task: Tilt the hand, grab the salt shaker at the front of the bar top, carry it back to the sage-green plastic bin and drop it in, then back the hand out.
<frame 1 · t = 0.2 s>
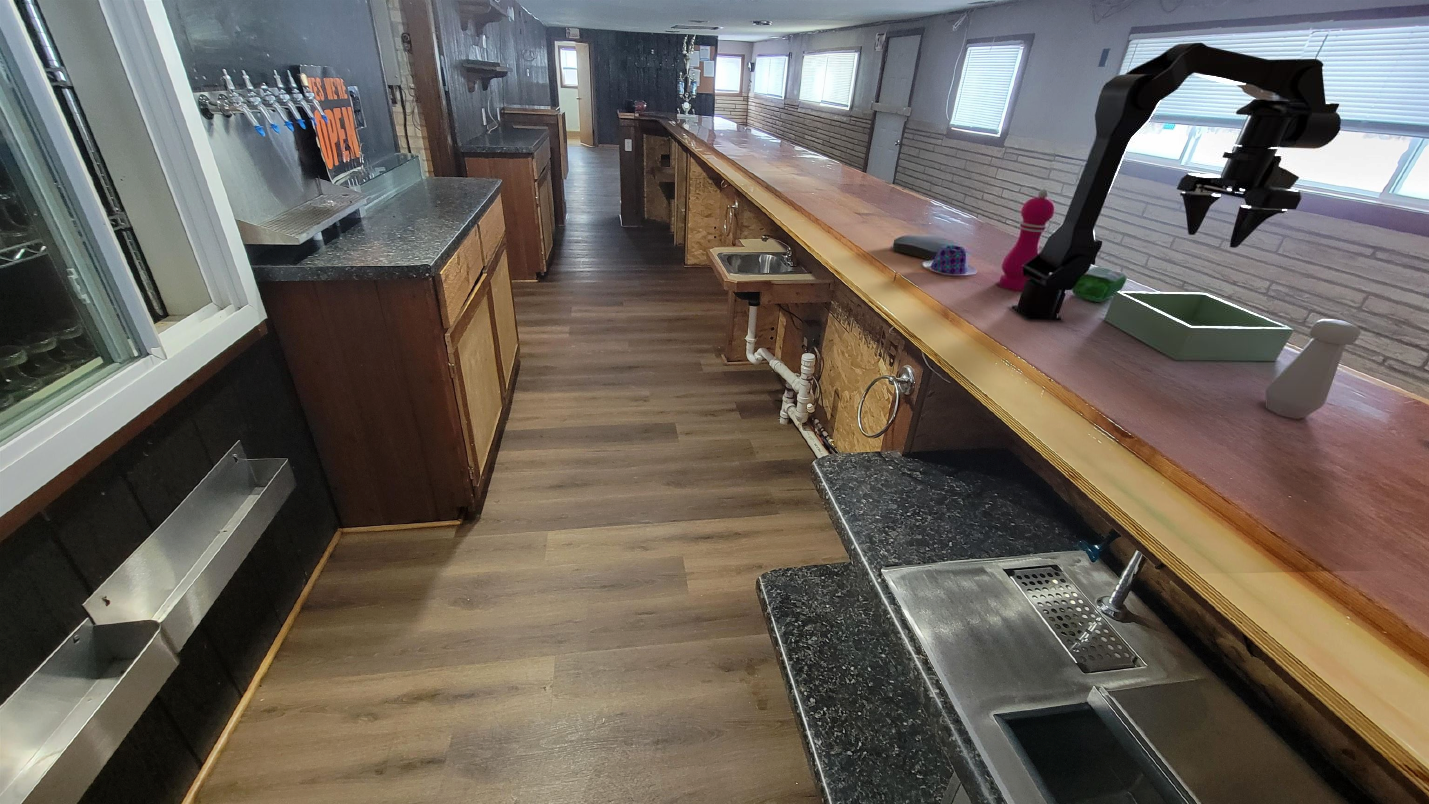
hand: (1211, 240, 102), 15 cm above the counter, tool pointing down, fingers open, 9 cm apart
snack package: (1094, 296, 119), on the counter
salt shaker: (1284, 412, 77), on the counter
bin: (1183, 339, 99), on the counter
patterned bucket hat: (948, 271, 131), on the counter
media streaming box: (926, 253, 145), on the counter
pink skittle: (1013, 287, 122), on the counter
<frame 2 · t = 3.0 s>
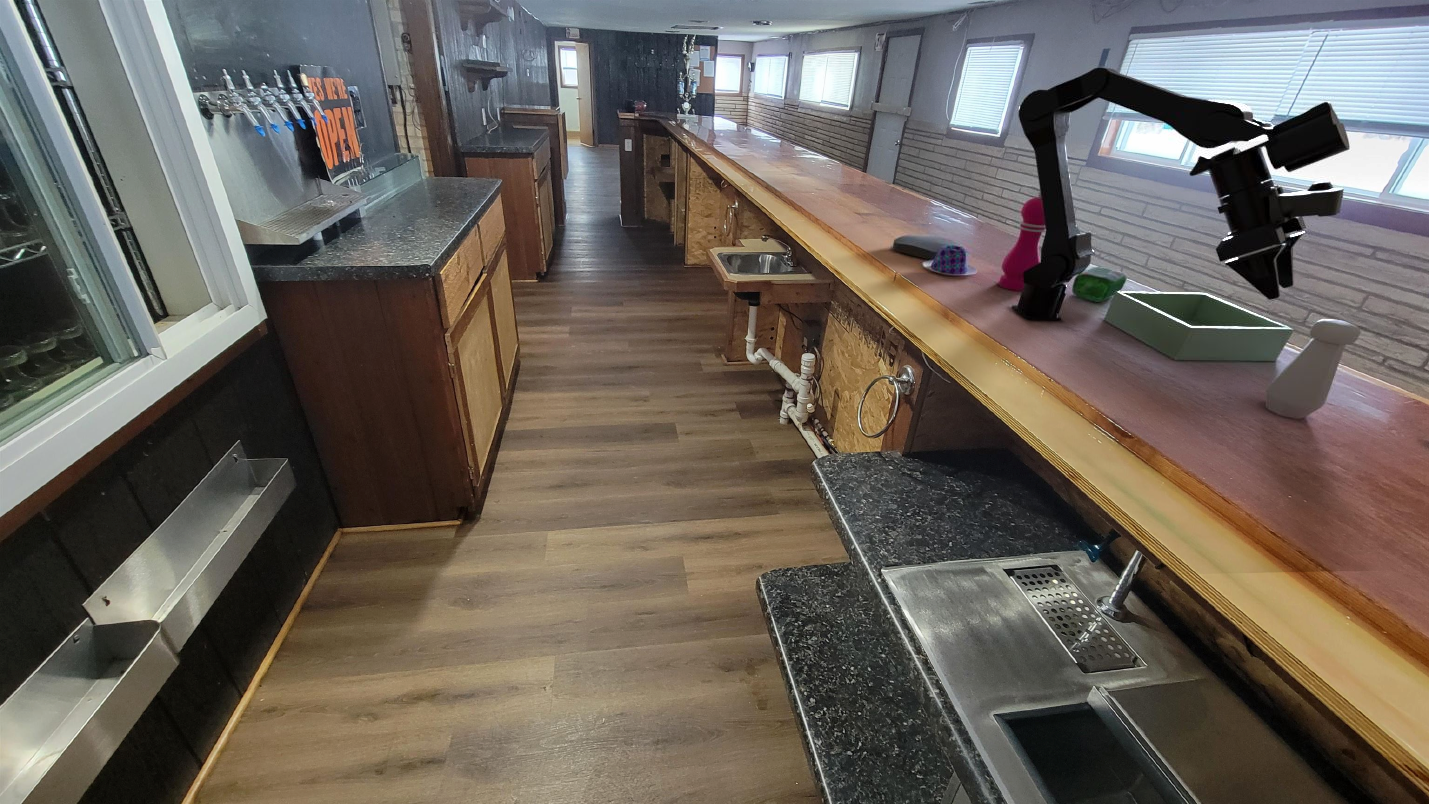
hand: (1281, 292, 80), 13 cm above the counter, tool tilted 35°, fingers open, 9 cm apart
nothing on the counter moved.
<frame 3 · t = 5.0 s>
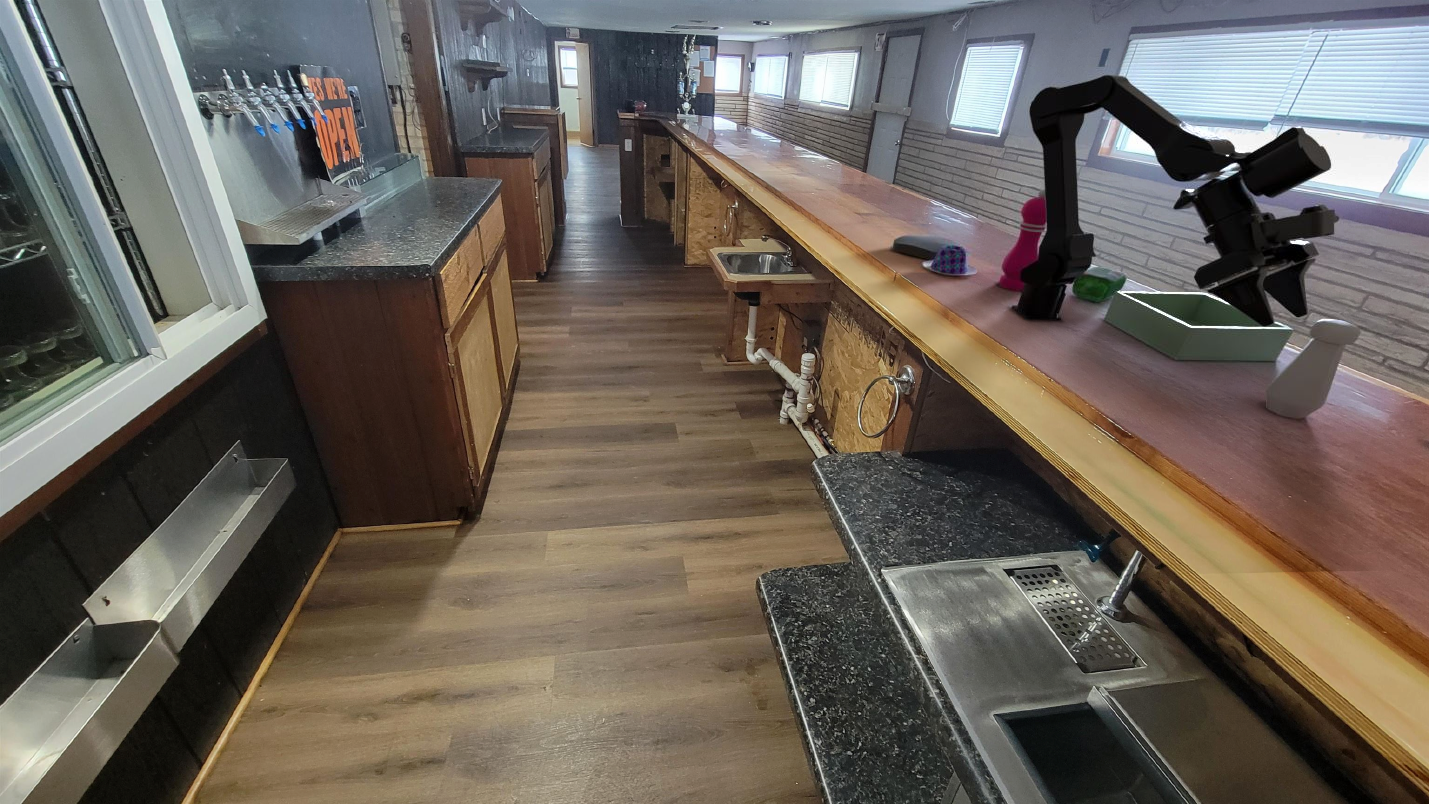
hand: (1286, 320, 75), 11 cm above the counter, tool tilted 45°, fingers open, 9 cm apart
nothing on the counter moved.
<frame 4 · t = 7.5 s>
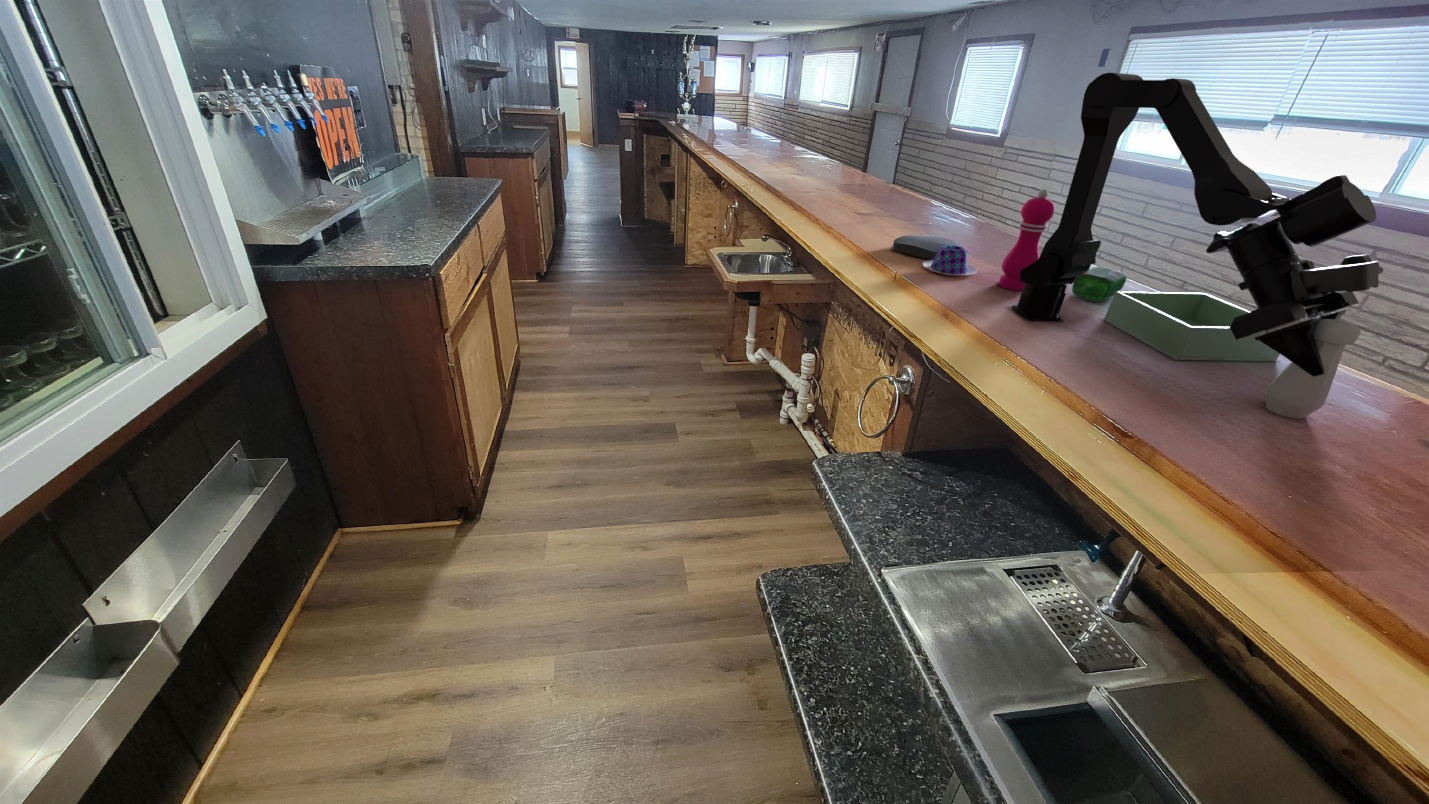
hand: (1325, 372, 73), 7 cm above the counter, tool tilted 45°, fingers closed on salt shaker, 3 cm apart
salt shaker: (1284, 412, 77), on the counter, touching gripper
everything else where it was.
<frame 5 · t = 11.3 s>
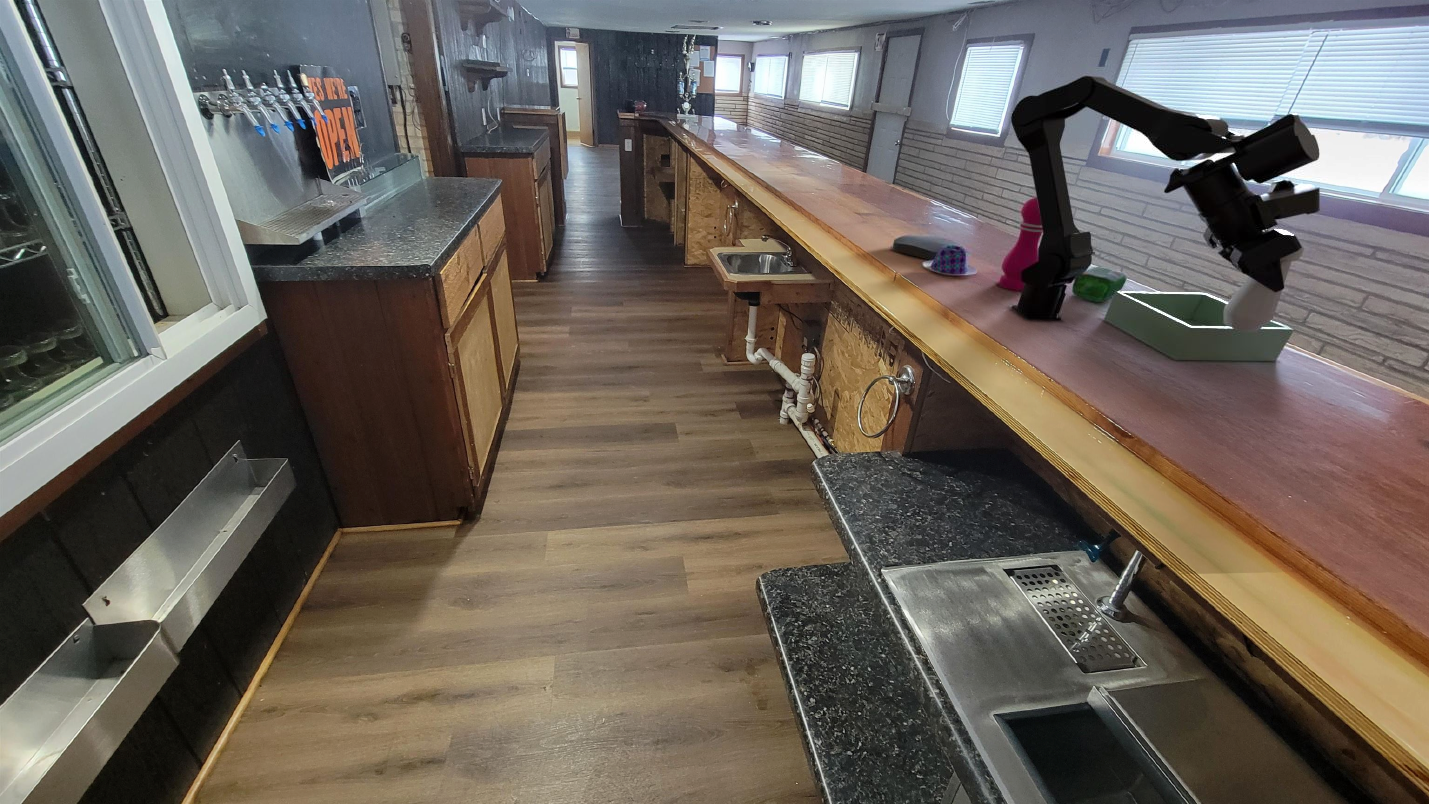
hand: (1275, 287, 83), 13 cm above the counter, tool tilted 45°, fingers closed on salt shaker, 3 cm apart
salt shaker: (1239, 327, 87), point 6 cm above the counter, touching gripper
everything else where it was.
when the fingers open (7 cm above the counter, at t = 15.3 s): salt shaker stays where it is, resting on bin.
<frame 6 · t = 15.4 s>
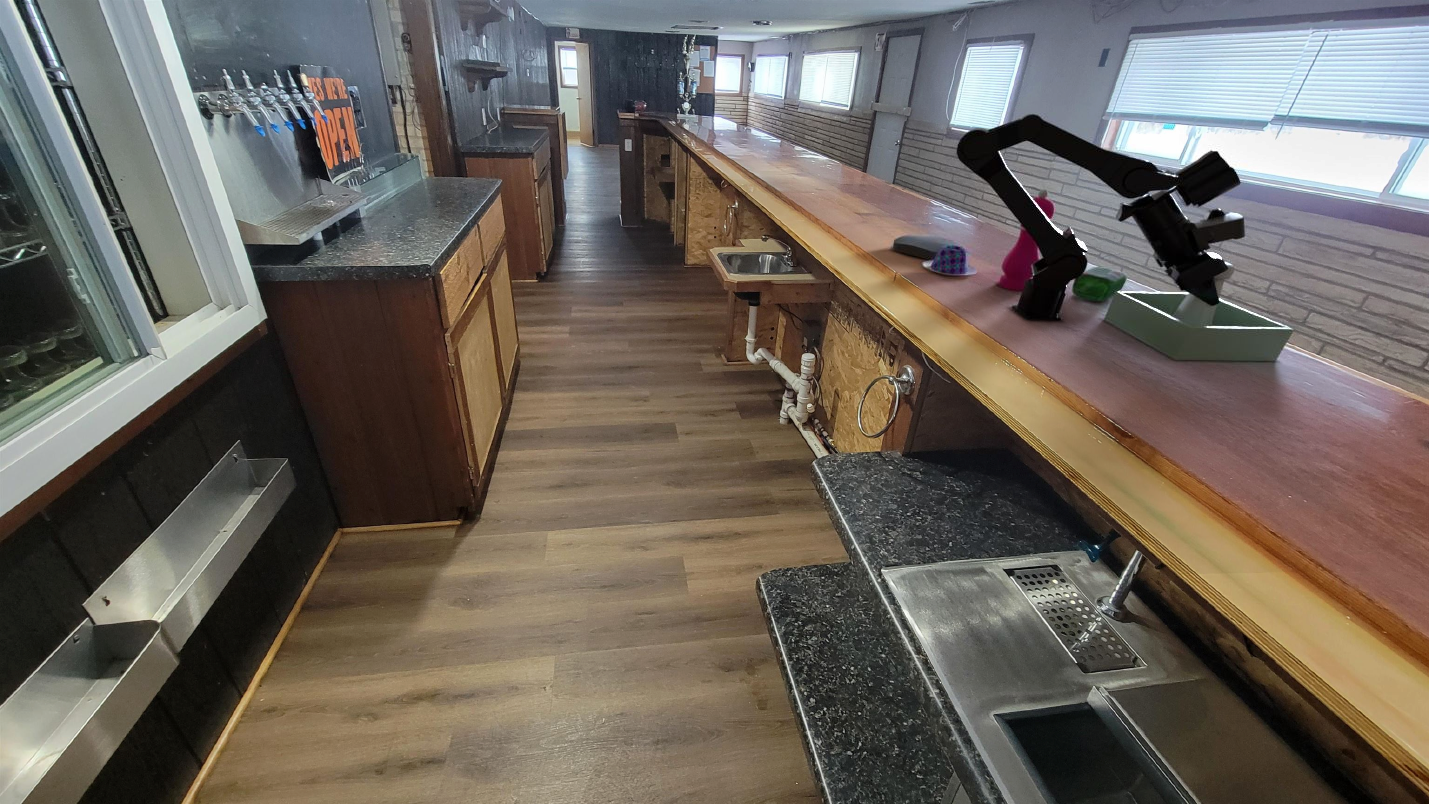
hand: (1212, 301, 95), 7 cm above the counter, tool tilted 45°, fingers open, 3 cm apart
salt shaker: (1183, 336, 99), resting on bin
everything else where it was.
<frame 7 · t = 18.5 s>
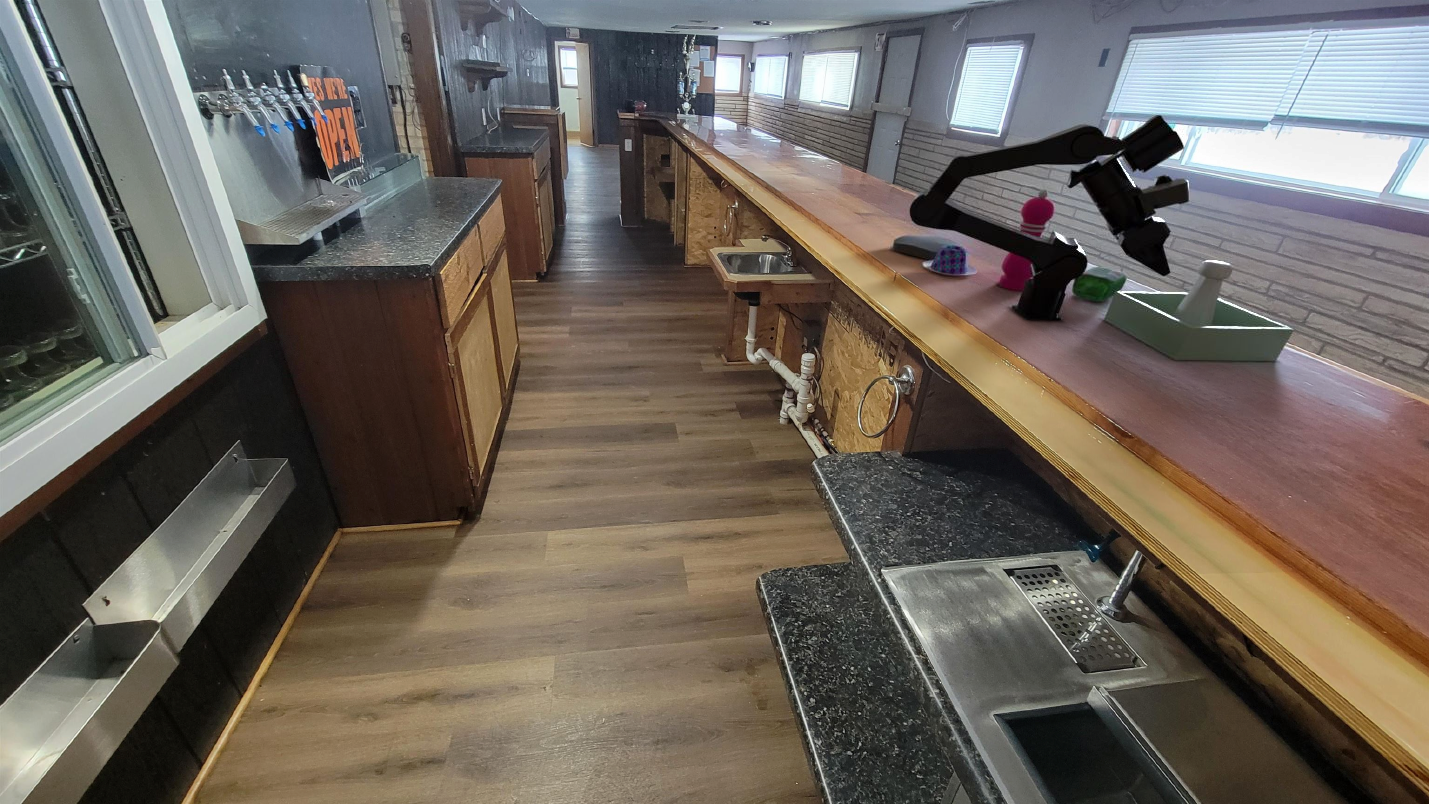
hand: (1161, 267, 96), 12 cm above the counter, tool tilted 45°, fingers open, 9 cm apart
nothing on the counter moved.
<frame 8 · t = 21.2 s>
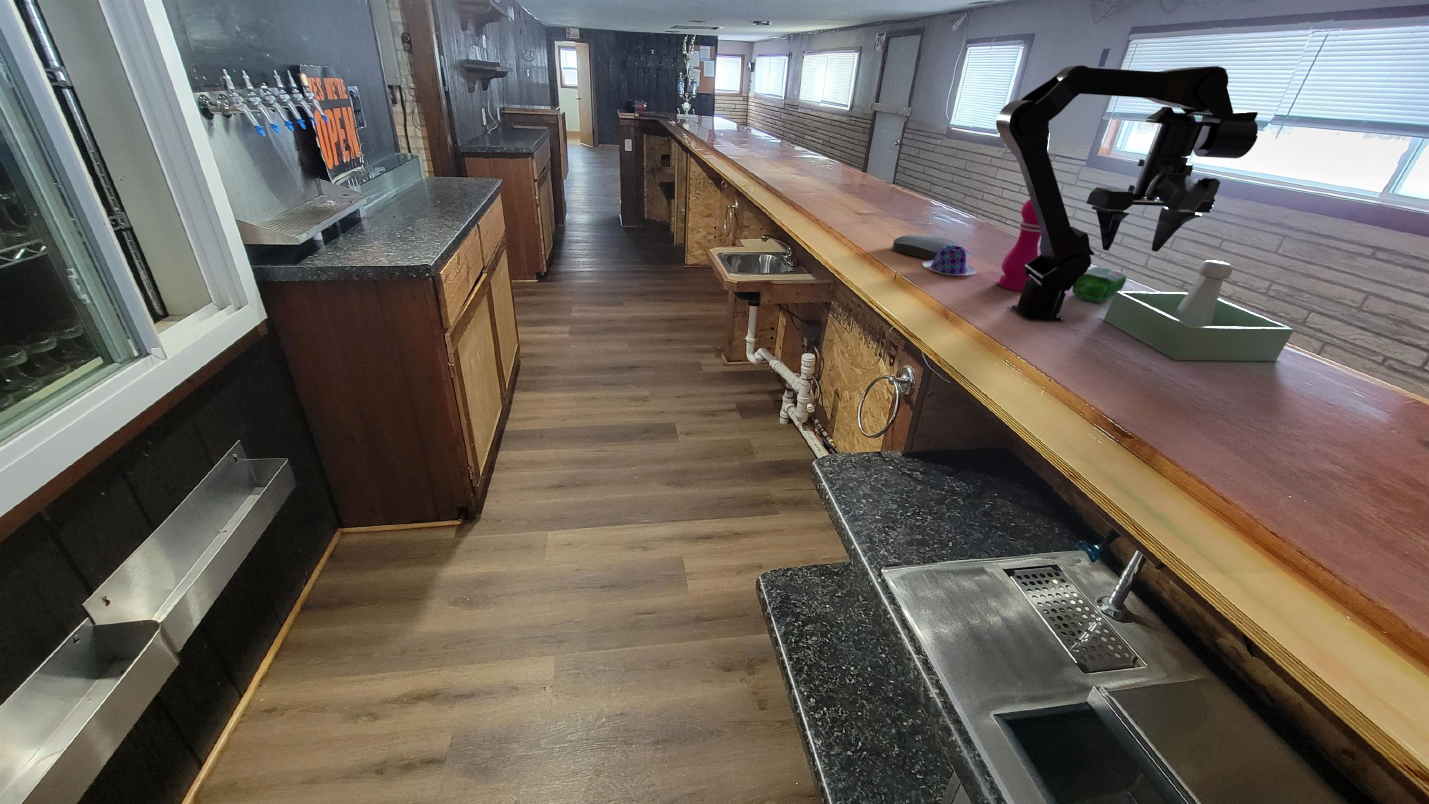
hand: (1130, 250, 100), 13 cm above the counter, tool pointing down, fingers open, 9 cm apart
nothing on the counter moved.
at the end: salt shaker inside the target area in the bin (0.3 cm from its centre), point 0.4 cm above the bin's base; the gripper is holding nothing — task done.
